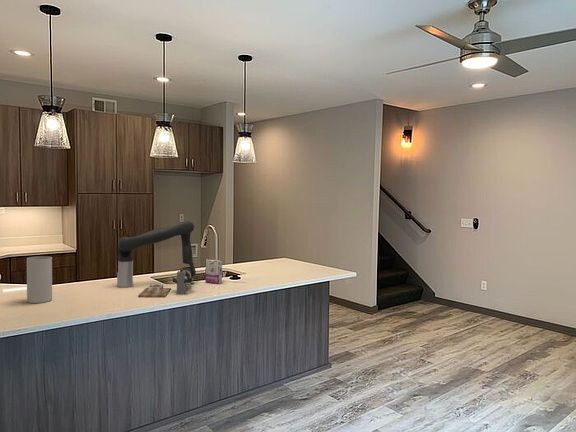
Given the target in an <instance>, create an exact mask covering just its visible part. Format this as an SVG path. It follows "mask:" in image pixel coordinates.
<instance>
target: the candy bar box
mask: <svg viewBox="0 0 576 432" xmlns="http://www.w3.org/2000/svg"><path fill="white" fill-rule="evenodd" d="M222 283H223V260H219V259H206V260H205V284H212V285H213V284H214V285H220V284H222Z"/></svg>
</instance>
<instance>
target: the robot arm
mask: <svg viewBox="0 0 576 432" xmlns="http://www.w3.org/2000/svg"><path fill="white" fill-rule="evenodd" d="M194 228H195V226H194V223H193V222H192V221H189V220H185V221H182V222H181V223H178V224H174V225H171V226H170V225H169V226H165V227H163V226H162V227H160V228H156V229H151V230H149V231H147V232H145V233H142V234H139V235H137V236H136V235H135V236H131V237H128V236H123V237H120V238H119V239H118V243H117V258H118V260H117V263H118V265H117V269H118V270H117V273H116V276H117V279H116V281H117V282H116V284H117V285H116V287H117V288H131V287H133V285H134V283H133V282H134V280H133V279H134V273H133V272H134V271H133V270H134V256H133V250H135V249H137V248H139V247H143V246H147V245H148V246H150V245H152V244H157V243H160V242H164V241H166V240H169V239H171V238H174V237H177V236H180V238H181V250H182V251H181V253H182V255H181V256H182V257H181V258H182V264H186V265H189V266H182V271H185V280H184V284H185V285H186V284H187V283H192V282H194V277H195V275H196V273H197V270H196V267H195V264H194V259H193V256H194V255H193V248H192V244H191V234H192V232H193V231H194V230H195V229H194ZM171 281H172V283H175V284H176V285H177V277H175V276H172V280H171Z"/></svg>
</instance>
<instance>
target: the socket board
mask: <svg viewBox="0 0 576 432" xmlns="http://www.w3.org/2000/svg"><path fill="white" fill-rule="evenodd" d="M170 290H172V288H171V287H164V284H149V285H148V286H147V287H145V288H144V289H143V290H142V291H141V292H140V293H139V294H138V296H137V297H138V298H166V297H167V296H168V294H169V293H170V292H171V291H170Z"/></svg>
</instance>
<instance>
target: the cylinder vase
mask: <svg viewBox="0 0 576 432" xmlns="http://www.w3.org/2000/svg"><path fill="white" fill-rule="evenodd" d="M52 300H53V257H52V256H48V255H45V256H44V255H41V256H40V255H39V256H29V257H27V258H26V301H27V303H29V304H44V303H48V302H51V301H52Z"/></svg>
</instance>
